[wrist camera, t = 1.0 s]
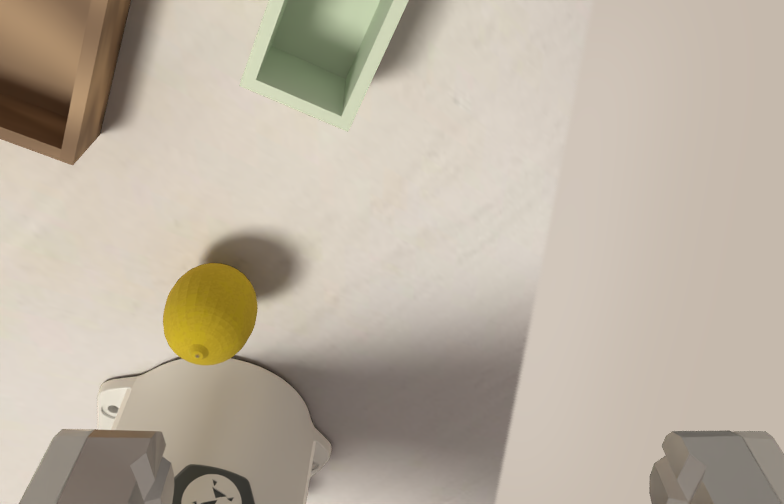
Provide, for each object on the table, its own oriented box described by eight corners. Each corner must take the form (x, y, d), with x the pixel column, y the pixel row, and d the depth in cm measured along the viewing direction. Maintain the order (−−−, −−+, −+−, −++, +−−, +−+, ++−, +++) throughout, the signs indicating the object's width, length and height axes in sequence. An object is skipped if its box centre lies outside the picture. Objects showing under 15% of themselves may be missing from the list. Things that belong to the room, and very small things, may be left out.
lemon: (250, 315, 45) (228, 400, 38) (173, 290, 44) (136, 373, 37) (276, 257, 42) (258, 338, 36) (195, 228, 41) (160, 306, 34)
